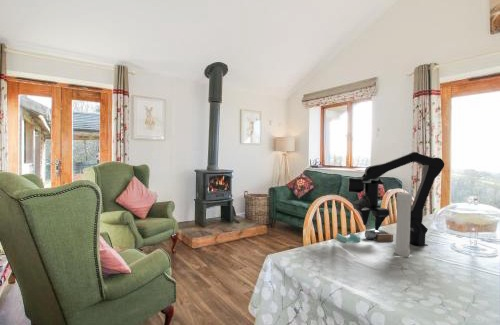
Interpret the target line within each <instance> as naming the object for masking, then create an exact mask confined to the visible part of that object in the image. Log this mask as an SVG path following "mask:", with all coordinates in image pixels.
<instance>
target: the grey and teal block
mask: <svg viewBox="0 0 500 325" xmlns="http://www.w3.org/2000/svg"><path fill="white" fill-rule="evenodd" d="M385 231H386V230H383V229H378V230H375V229H373V230H372V229H370V230H365V232H364V237H365V239H366V240H374V239H377V234H385Z"/></svg>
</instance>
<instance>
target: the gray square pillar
mask: <svg viewBox="0 0 500 325" xmlns="http://www.w3.org/2000/svg"><path fill="white" fill-rule="evenodd" d="M395 180H396V181H398V183H400V184H401V186H402V188H403V192H397V193H396V202H397V206H396V230H395V231H396V234H395V236H396V237H395V246H394V253H395V254H396V255H398V256H400V257H403V258H408V257H410V255H411V249H410V244H409V243H410V216H411V206H412V202H413V194H412V193H407V192H405V188H404V185H403V184H402V182H401V181H399V180H398V179H397V178H395Z"/></svg>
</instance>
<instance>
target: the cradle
mask: <svg viewBox="0 0 500 325" xmlns="http://www.w3.org/2000/svg"><path fill="white" fill-rule="evenodd" d="M336 239H338V240H339V241H341V242H342V243H361V237H360V236H358V235H356V234H355V233H352V232H351V233H350V232H349V237H348V236H347V237H345V236H344V235H342V234H340V233H336Z"/></svg>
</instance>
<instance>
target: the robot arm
mask: <svg viewBox="0 0 500 325" xmlns="http://www.w3.org/2000/svg"><path fill="white" fill-rule="evenodd" d="M413 162H414V163H416V164H418V165H421V166H423V168H422V173H423V174H422V178H421V181H420V184H419V186H418V189H417V191H416V194H415V197H414V200H413V201H412V202H413V203H411V216H410V243H409V245H412V246H415V247H427V246H429V244H426V234H427V232H428V228H427V227H426V226H425V225H424V224H423V219H424V207H425V205H426V203H427V200H428V196H429V195H430V192H431V189H432V187H433V185H434V181H435V179H436V178H437V177H438V176H439V175H440V174H441V172H442V171H443V169H444V167H445V161H444V160H443V159H442V158H440V157H434V156H433V157H432V156H428V155H425V154H422V153H419V152H417V151H411V152H409V153H408V154H406V155H402V156H400V157H397V158H395V159H392V160H390V161H386V162H384V163H378V164H375V165H370V166H367V167H366V168H365V170H364V173H363V175H362V176H361V177H360V178H353V177H348V183H347V193H349V194H353V193H354V194H362V192H364V194H363V195H362V196H361V198H359V199H357V200H354V201H352V202H351V205H352V207H353V210H356V212H358V213H359V215H360V218H361V221H362V224H363V226H367V223H368V220H369V217H370V213H372V214H371V217H373V219H374V230H380V229H379V228H380V227H381V226H382V224H383V223H384V220H385V219H386V218H388V217H389V216H390V212H391V211H390V210H389V209H388V208H384V207H381V205H380V204H379V200H380V199H381V195H379V185H384V184H385V183H384V182H383V181H382V180H381V179H380V177H382V176H383V175H385V174H387V173H388V172H389V171H393V170H396V169H398V168H400V167H404V166H405V165H408V164H411V163H413Z"/></svg>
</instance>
